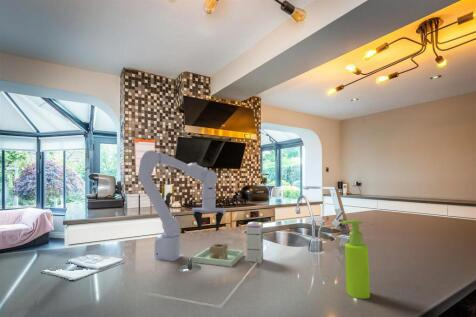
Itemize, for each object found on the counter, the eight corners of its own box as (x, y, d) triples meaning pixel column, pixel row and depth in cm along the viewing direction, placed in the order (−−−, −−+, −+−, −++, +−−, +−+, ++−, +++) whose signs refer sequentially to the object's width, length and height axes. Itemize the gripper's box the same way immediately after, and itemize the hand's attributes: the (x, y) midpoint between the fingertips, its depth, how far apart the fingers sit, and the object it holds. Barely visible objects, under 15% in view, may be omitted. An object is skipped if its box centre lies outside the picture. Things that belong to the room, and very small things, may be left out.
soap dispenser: (339, 289, 72) (336, 219, 74) (362, 288, 73) (359, 218, 74) (349, 299, 66) (347, 222, 68) (374, 298, 67) (371, 222, 69)
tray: (192, 263, 94) (192, 257, 95) (208, 253, 107) (208, 247, 107) (231, 268, 89) (231, 261, 90) (243, 257, 102) (243, 251, 102)
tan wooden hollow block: (215, 256, 102) (215, 243, 102) (227, 257, 100) (227, 244, 100) (208, 261, 95) (208, 247, 96) (221, 262, 94) (221, 248, 94)
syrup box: (261, 263, 94) (261, 224, 95) (246, 262, 95) (246, 223, 97) (263, 259, 100) (263, 221, 101) (248, 258, 101) (248, 221, 102)
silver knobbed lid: (173, 272, 85) (173, 261, 86) (185, 264, 93) (185, 254, 93) (194, 275, 83) (194, 263, 83) (205, 267, 90) (205, 256, 91)
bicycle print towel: (125, 264, 96) (125, 258, 96) (71, 284, 77) (71, 277, 78) (92, 257, 104) (92, 252, 104) (36, 274, 85) (36, 267, 86)
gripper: (189, 198, 106) (189, 231, 104) (223, 199, 103) (223, 232, 102) (195, 197, 112) (194, 228, 111) (226, 197, 110) (226, 229, 109)
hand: (208, 230), depth 107 cm, fingers open, 7 cm apart
